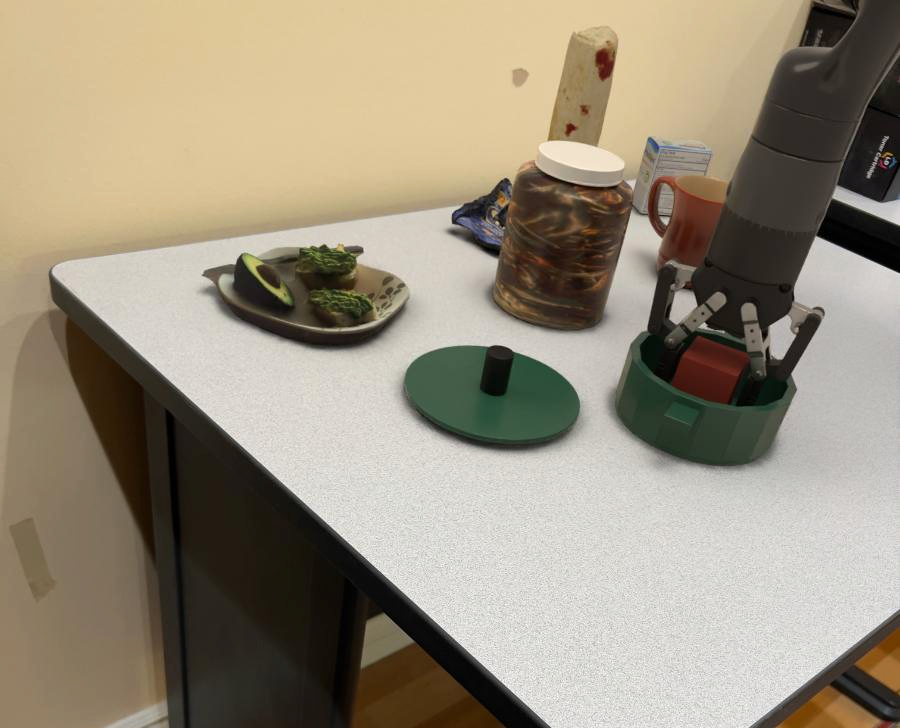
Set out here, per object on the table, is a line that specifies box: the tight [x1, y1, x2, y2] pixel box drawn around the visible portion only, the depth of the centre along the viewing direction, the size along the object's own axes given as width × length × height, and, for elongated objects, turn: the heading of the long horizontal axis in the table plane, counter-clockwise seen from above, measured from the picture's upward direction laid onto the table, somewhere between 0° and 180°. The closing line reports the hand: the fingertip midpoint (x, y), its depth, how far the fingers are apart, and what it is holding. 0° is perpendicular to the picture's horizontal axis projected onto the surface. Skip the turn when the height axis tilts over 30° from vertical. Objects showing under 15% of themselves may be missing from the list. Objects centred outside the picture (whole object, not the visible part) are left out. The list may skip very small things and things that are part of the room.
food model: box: [546, 25, 619, 147], centre depth 113 cm, size 10×7×20 cm
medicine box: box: [632, 135, 714, 216], centre depth 119 cm, size 8×4×9 cm, turn 102°
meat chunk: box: [672, 336, 750, 405], centre depth 79 cm, size 5×5×6 cm
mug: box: [647, 174, 730, 289], centre depth 103 cm, size 12×9×10 cm
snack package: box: [451, 177, 514, 252], centre depth 105 cm, size 12×6×12 cm
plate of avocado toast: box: [201, 243, 411, 347], centre depth 87 cm, size 19×18×5 cm
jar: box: [492, 140, 634, 330], centre depth 90 cm, size 12×12×15 cm
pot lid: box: [403, 344, 581, 445], centre depth 77 cm, size 16×16×5 cm
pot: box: [614, 327, 798, 467], centre depth 79 cm, size 15×20×6 cm
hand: (700, 396), depth 80 cm, fingers open, 6 cm apart
